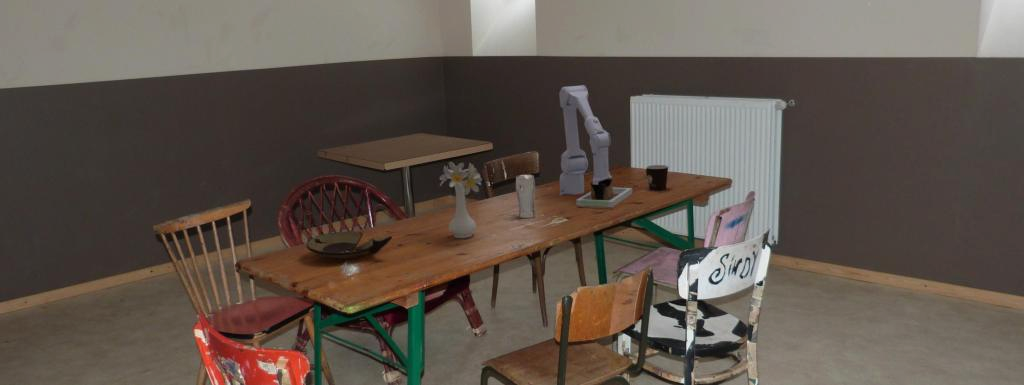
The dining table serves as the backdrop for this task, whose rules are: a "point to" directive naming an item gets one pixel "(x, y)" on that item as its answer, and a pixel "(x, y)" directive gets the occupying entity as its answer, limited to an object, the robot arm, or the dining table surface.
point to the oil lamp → (345, 245)
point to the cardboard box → (607, 193)
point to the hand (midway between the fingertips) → (602, 199)
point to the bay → (587, 200)
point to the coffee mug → (657, 177)
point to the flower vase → (461, 197)
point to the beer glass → (525, 195)
